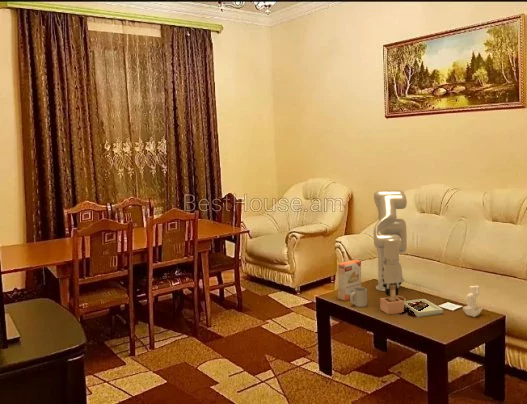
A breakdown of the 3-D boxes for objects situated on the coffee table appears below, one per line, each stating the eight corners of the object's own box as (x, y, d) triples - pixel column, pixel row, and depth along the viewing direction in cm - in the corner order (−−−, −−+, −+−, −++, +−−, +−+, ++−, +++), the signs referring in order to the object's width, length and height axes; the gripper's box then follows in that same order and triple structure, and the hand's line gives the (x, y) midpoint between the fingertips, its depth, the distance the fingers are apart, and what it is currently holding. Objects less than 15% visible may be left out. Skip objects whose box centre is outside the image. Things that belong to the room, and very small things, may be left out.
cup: (369, 305, 280) (369, 290, 279) (353, 308, 276) (353, 292, 275) (362, 302, 286) (362, 286, 285) (346, 304, 283) (346, 289, 282)
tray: (401, 306, 277) (401, 301, 277) (424, 303, 280) (424, 298, 280) (418, 317, 260) (418, 312, 260) (443, 313, 263) (443, 309, 263)
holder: (380, 308, 274) (380, 298, 273) (395, 307, 276) (395, 296, 275) (388, 314, 265) (388, 303, 264) (403, 312, 267) (403, 301, 267)
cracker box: (345, 301, 288) (344, 265, 286) (337, 299, 293) (337, 263, 290) (361, 295, 297) (361, 260, 294) (354, 293, 302) (353, 259, 299)
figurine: (461, 315, 260) (461, 286, 258) (470, 310, 266) (471, 282, 264) (474, 318, 254) (474, 289, 252) (484, 314, 260) (484, 285, 258)
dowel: (386, 309, 272) (386, 283, 270) (393, 308, 273) (393, 282, 271) (390, 311, 268) (390, 285, 267) (397, 310, 269) (397, 284, 267)
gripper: (380, 264, 262) (380, 298, 264) (409, 261, 266) (409, 295, 268) (373, 261, 269) (374, 294, 271) (402, 258, 273) (402, 291, 275)
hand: (391, 294), depth 270 cm, fingers closed on dowel, 4 cm apart
